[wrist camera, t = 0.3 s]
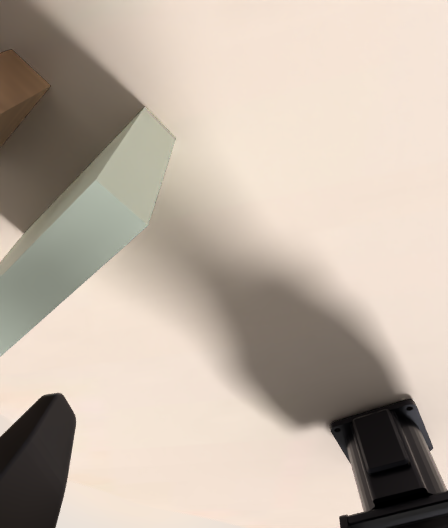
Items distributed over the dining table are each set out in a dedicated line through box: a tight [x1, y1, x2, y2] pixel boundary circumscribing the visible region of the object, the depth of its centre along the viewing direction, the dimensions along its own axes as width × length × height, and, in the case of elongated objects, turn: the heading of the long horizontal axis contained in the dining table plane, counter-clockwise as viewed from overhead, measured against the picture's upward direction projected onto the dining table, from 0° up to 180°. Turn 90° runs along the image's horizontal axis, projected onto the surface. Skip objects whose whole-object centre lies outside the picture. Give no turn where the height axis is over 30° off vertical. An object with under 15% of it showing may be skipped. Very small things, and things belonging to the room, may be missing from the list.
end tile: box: [0, 107, 176, 357], centre depth 18 cm, size 2×10×9 cm, turn 132°
